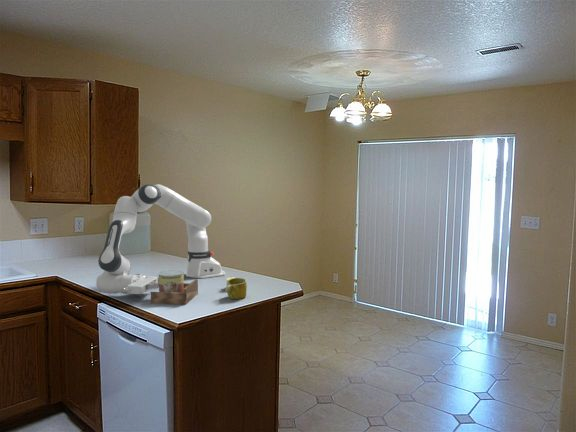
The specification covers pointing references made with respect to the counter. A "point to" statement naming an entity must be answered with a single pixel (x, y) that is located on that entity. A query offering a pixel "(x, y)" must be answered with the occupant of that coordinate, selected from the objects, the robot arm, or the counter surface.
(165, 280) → the canned food
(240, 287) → the mug
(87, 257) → the counter surface
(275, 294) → the counter surface
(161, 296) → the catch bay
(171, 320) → the counter surface
